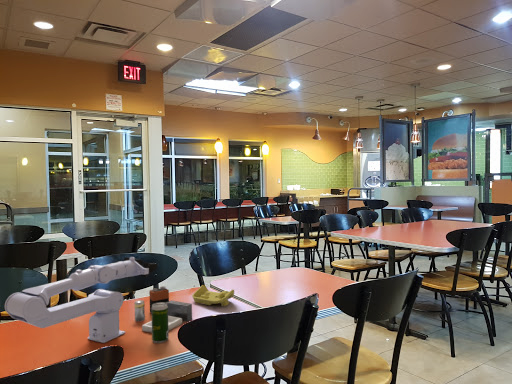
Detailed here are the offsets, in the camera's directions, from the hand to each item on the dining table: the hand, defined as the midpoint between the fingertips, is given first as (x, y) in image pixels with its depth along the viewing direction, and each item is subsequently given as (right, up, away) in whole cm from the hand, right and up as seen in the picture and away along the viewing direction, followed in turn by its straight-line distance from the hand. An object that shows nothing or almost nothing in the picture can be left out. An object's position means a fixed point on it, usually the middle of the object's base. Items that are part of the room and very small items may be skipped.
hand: (149, 264), depth 150 cm
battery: (+2, -21, +7) cm, 22 cm away
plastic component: (+24, -20, +17) cm, 35 cm away
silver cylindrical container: (-3, -21, -2) cm, 21 cm away
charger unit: (+12, -21, -1) cm, 24 cm away
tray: (+8, -21, -9) cm, 24 cm away
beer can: (+10, -22, -21) cm, 32 cm away
